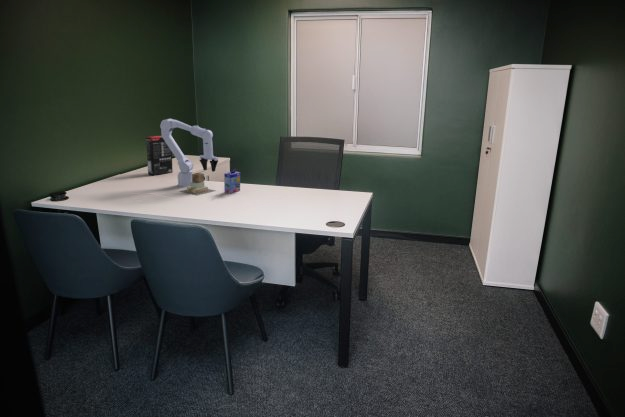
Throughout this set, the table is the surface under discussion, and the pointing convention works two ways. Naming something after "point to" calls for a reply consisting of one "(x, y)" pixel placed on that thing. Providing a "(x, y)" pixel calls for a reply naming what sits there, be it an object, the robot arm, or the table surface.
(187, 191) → the desk mat
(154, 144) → the graphics card box
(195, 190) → the oak slab
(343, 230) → the table surface
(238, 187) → the ink cartridge box
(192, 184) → the sage block
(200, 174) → the walnut cube
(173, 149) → the robot arm
